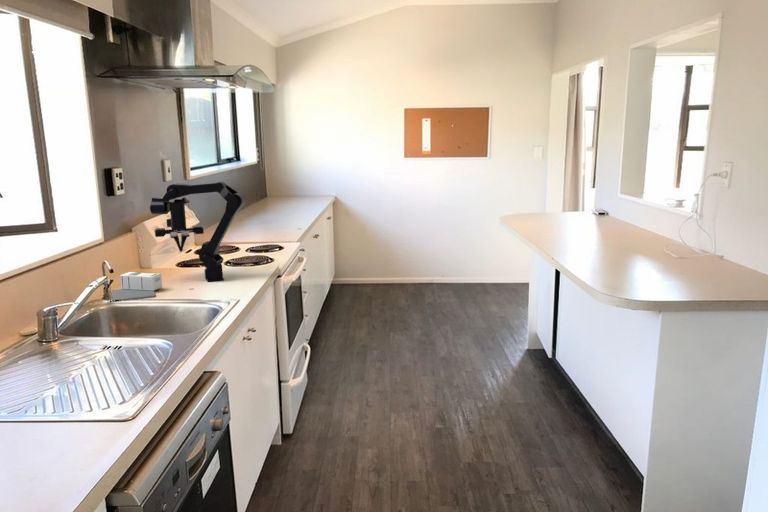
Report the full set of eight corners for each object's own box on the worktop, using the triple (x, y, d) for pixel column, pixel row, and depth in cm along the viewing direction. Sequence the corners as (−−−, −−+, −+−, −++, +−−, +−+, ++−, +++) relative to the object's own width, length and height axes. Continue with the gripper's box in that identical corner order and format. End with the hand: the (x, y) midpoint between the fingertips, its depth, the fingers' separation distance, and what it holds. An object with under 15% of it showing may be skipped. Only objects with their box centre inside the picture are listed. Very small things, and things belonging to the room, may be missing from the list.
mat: (153, 287, 221) (153, 285, 221) (155, 297, 207) (155, 295, 207) (108, 291, 215) (108, 290, 215) (107, 302, 201) (107, 300, 201)
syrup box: (152, 276, 212) (119, 274, 215) (153, 291, 213) (120, 288, 216) (161, 273, 217) (129, 271, 220) (162, 288, 219) (130, 285, 222)
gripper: (199, 210, 239) (202, 246, 242) (152, 213, 231) (155, 250, 234) (202, 213, 229) (205, 251, 232) (153, 216, 221) (157, 254, 224)
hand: (180, 251), depth 231 cm, fingers closed
